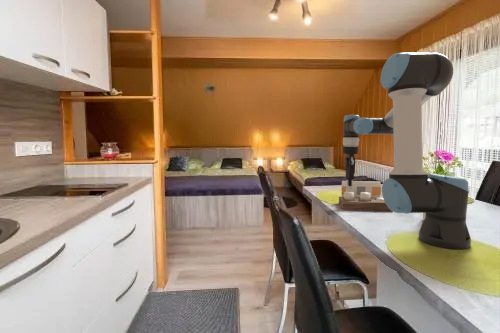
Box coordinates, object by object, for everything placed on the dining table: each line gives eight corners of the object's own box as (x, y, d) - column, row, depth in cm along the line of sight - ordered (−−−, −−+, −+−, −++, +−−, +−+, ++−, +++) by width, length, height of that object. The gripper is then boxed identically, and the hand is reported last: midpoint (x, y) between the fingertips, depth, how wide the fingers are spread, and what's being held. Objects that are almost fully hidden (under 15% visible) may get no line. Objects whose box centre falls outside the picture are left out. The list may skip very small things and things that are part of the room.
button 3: (354, 202, 146) (355, 193, 146) (344, 201, 147) (345, 193, 147) (352, 199, 151) (352, 191, 151) (343, 199, 152) (343, 191, 151)
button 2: (371, 202, 145) (371, 194, 145) (361, 202, 146) (361, 193, 146) (368, 200, 150) (369, 192, 150) (359, 200, 151) (359, 191, 150)
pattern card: (380, 203, 156) (381, 181, 154) (341, 202, 158) (341, 181, 157) (379, 203, 157) (380, 181, 156) (340, 202, 160) (341, 180, 158)
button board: (393, 211, 141) (394, 203, 140) (342, 209, 144) (343, 201, 144) (385, 205, 153) (385, 197, 152) (338, 203, 156) (338, 196, 155)
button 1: (387, 208, 145) (388, 199, 144) (377, 207, 145) (378, 199, 145) (384, 205, 149) (385, 197, 149) (374, 205, 150) (375, 197, 149)
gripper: (361, 146, 139) (359, 194, 142) (355, 145, 152) (353, 189, 155) (345, 146, 140) (343, 194, 143) (340, 145, 153) (339, 189, 156)
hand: (349, 191), depth 149 cm, fingers closed
